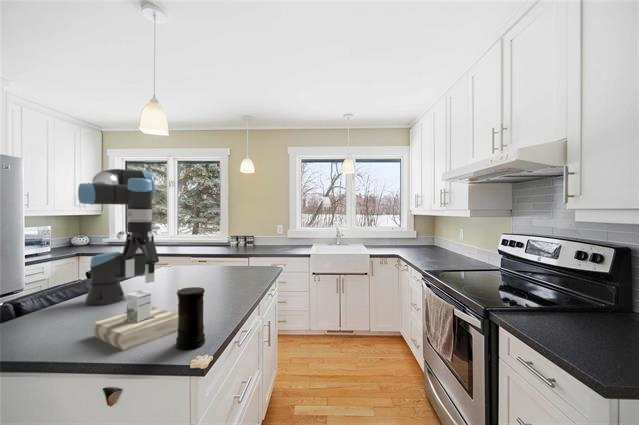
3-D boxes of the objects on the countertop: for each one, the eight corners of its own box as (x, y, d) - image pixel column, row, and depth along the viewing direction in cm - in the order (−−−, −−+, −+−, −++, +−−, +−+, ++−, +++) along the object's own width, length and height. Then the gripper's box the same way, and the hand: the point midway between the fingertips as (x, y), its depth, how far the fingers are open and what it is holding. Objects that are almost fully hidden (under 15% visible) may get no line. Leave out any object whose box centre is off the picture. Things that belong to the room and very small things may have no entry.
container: (181, 338, 100) (182, 286, 100) (208, 337, 101) (208, 286, 101) (170, 351, 91) (170, 294, 91) (200, 350, 92) (200, 293, 92)
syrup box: (152, 330, 107) (152, 291, 107) (137, 337, 101) (137, 295, 101) (141, 328, 109) (141, 289, 109) (125, 334, 103) (125, 293, 103)
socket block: (94, 336, 102) (94, 322, 102) (152, 318, 119) (152, 306, 119) (122, 350, 91) (123, 334, 91) (181, 328, 108) (181, 315, 108)
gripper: (111, 220, 108) (111, 276, 109) (148, 222, 95) (147, 287, 96) (133, 219, 115) (132, 273, 115) (169, 222, 102) (169, 282, 102)
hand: (139, 279), depth 105 cm, fingers open, 13 cm apart
